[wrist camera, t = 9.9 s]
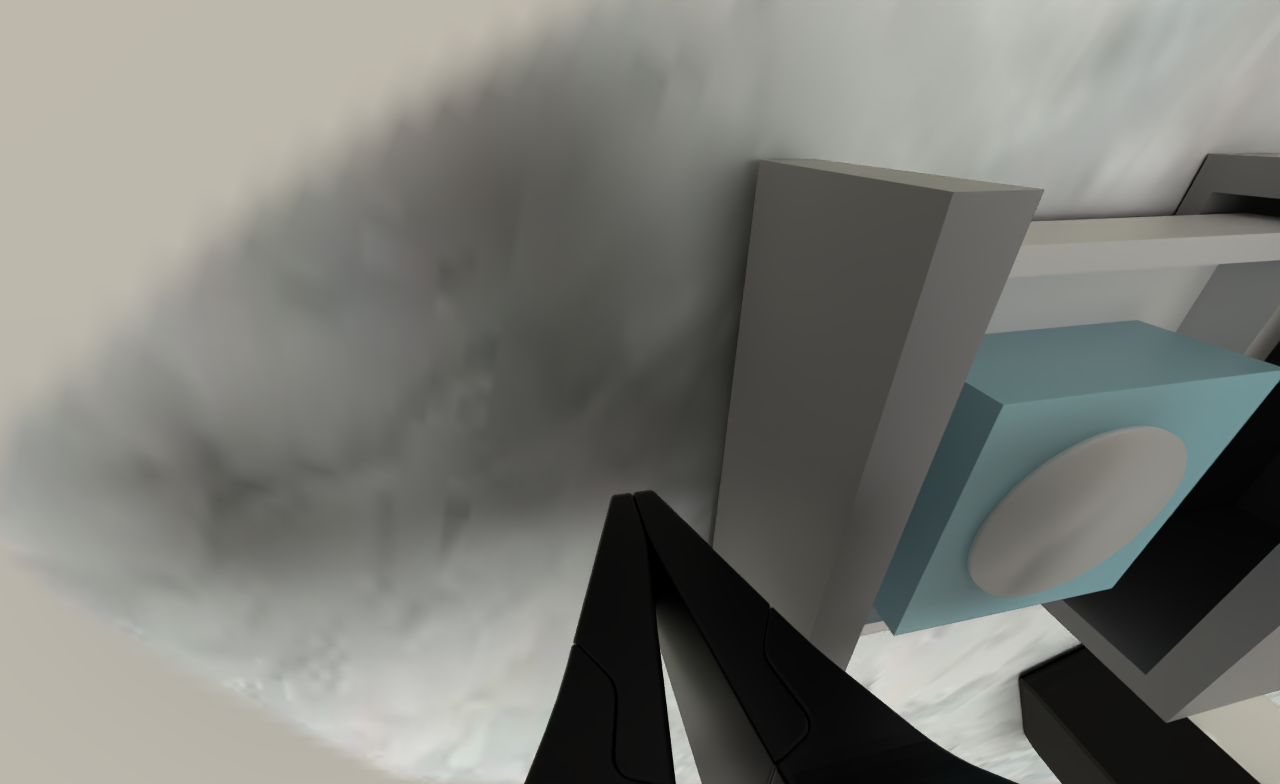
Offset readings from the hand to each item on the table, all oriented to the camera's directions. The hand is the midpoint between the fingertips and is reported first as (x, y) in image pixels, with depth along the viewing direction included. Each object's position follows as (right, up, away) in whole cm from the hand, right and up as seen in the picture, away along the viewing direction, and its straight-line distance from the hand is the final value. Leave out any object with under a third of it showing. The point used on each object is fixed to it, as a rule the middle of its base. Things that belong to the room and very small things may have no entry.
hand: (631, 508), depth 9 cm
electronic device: (+23, -14, +16) cm, 31 cm away
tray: (+8, +2, +3) cm, 9 cm away
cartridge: (+8, +1, +2) cm, 9 cm away
